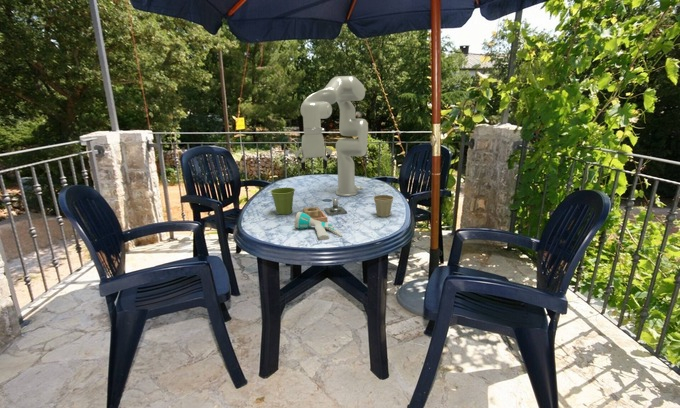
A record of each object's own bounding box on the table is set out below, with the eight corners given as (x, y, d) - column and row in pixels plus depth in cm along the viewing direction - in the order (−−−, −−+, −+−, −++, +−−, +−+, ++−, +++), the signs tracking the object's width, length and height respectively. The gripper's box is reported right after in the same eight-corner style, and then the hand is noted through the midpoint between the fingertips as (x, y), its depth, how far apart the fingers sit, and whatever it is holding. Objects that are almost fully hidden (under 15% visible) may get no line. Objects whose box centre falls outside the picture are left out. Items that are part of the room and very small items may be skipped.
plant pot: (286, 207, 178) (285, 186, 175) (301, 212, 170) (300, 190, 167) (267, 212, 170) (265, 190, 167) (281, 218, 162) (279, 194, 159)
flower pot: (380, 219, 158) (380, 201, 155) (369, 214, 166) (369, 196, 163) (397, 216, 162) (397, 198, 159) (385, 210, 170) (386, 193, 167)
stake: (341, 208, 175) (341, 195, 173) (347, 213, 167) (346, 200, 165) (324, 210, 173) (323, 197, 171) (328, 215, 164) (328, 202, 162)
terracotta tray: (321, 214, 167) (321, 209, 166) (327, 221, 156) (327, 217, 155) (297, 216, 164) (297, 212, 163) (301, 224, 153) (301, 220, 152)
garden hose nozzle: (343, 229, 137) (332, 209, 155) (299, 229, 132) (293, 209, 150) (341, 245, 139) (331, 223, 157) (298, 246, 135) (292, 224, 153)
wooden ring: (318, 214, 164) (317, 206, 163) (321, 219, 157) (321, 211, 156) (303, 216, 162) (302, 208, 161) (306, 221, 156) (305, 212, 154)
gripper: (329, 129, 160) (330, 166, 165) (291, 132, 155) (294, 169, 161) (333, 131, 153) (334, 169, 158) (294, 133, 148) (297, 173, 154)
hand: (314, 169), depth 159 cm, fingers open, 9 cm apart
